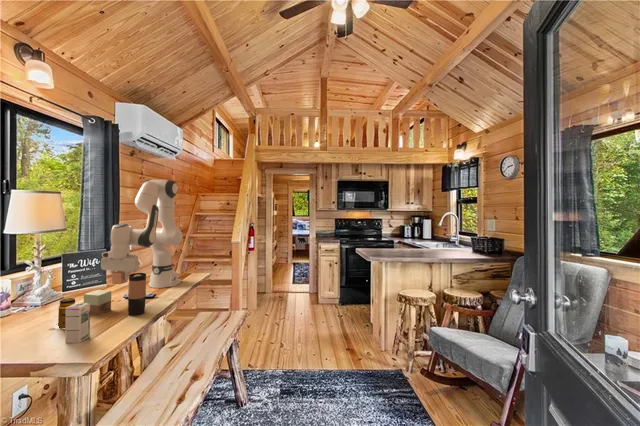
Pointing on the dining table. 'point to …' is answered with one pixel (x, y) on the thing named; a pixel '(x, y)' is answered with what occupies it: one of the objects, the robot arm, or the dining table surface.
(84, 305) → the syrup box
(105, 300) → the block top
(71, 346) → the dining table surface
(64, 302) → the condiment
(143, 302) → the travel mug
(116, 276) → the block small
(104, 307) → the block low
